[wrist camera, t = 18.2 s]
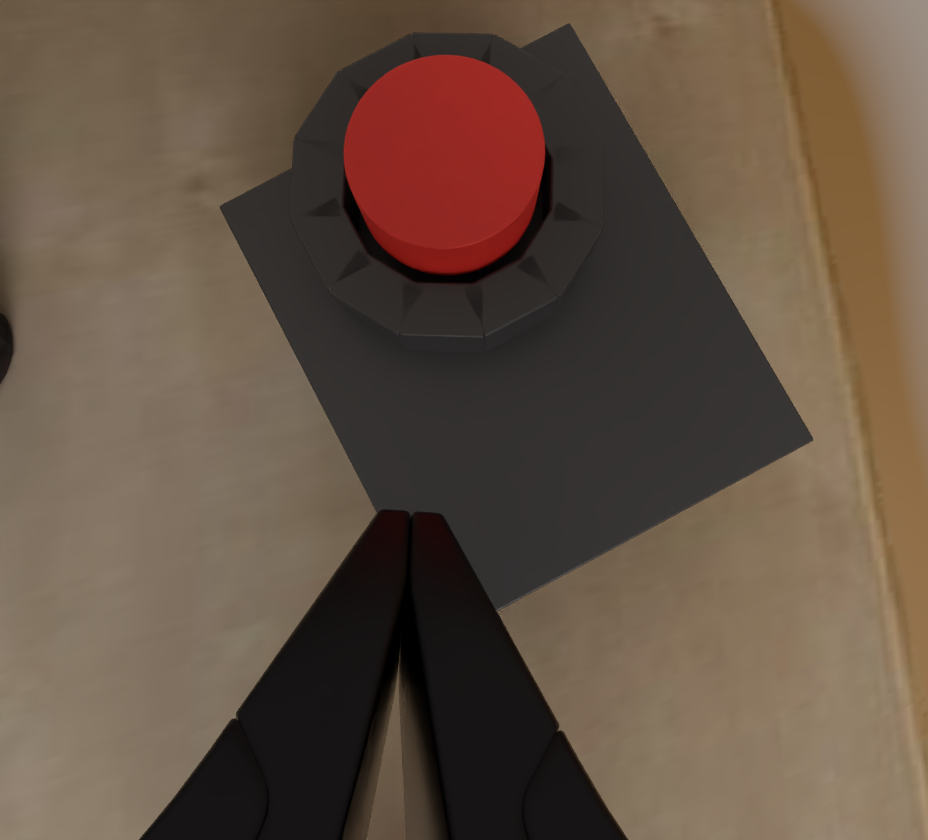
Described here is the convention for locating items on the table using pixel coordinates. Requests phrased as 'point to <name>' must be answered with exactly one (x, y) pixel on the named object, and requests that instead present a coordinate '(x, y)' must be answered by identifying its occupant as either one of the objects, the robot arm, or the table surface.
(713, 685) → the table surface
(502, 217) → the button
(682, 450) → the switchbox
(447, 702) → the robot arm
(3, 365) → the camera
